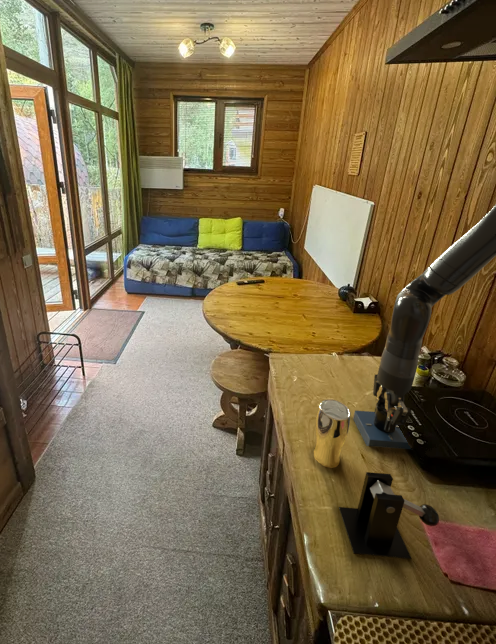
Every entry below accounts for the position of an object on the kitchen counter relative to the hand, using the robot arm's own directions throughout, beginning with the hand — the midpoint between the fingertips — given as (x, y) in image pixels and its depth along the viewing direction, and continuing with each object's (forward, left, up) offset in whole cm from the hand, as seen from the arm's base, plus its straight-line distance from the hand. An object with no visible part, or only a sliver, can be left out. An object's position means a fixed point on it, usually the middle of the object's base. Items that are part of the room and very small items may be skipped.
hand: (383, 422), depth 81 cm
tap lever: (+9, +25, +3) cm, 27 cm away
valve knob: (0, 0, -1) cm, 1 cm away
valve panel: (0, 0, -4) cm, 4 cm away
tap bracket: (+13, +25, -4) cm, 28 cm away
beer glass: (+17, +9, -4) cm, 20 cm away
